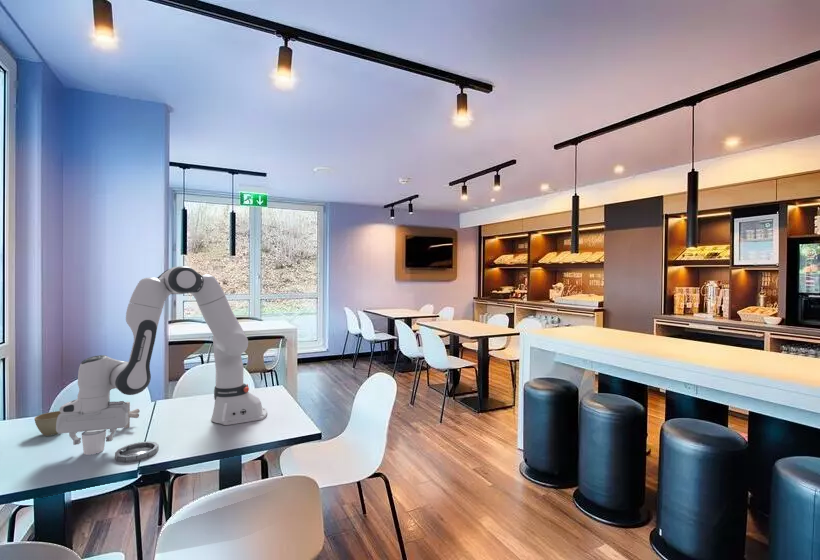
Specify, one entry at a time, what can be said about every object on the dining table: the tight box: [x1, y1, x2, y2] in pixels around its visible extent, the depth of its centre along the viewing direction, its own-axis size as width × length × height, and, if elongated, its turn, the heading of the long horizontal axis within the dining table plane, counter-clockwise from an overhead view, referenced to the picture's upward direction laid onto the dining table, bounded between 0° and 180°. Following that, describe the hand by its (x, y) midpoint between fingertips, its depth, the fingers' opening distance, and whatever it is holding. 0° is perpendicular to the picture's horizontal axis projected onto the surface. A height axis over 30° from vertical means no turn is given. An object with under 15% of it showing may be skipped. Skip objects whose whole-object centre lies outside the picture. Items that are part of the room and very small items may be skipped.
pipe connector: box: [123, 401, 140, 429], centre depth 160 cm, size 10×10×10 cm
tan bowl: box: [34, 410, 61, 437], centre depth 153 cm, size 10×10×7 cm
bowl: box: [114, 441, 160, 463], centre depth 137 cm, size 12×12×2 cm
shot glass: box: [81, 429, 107, 456], centre depth 139 cm, size 7×7×7 cm
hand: (93, 442), depth 138 cm, fingers open, 8 cm apart
